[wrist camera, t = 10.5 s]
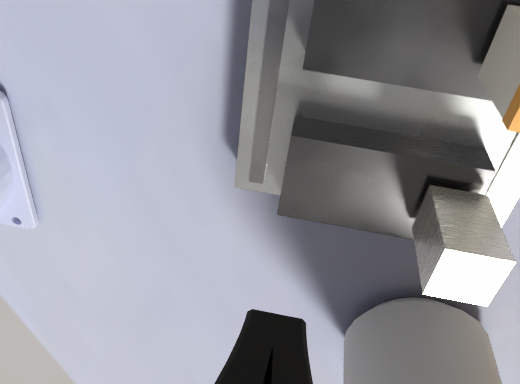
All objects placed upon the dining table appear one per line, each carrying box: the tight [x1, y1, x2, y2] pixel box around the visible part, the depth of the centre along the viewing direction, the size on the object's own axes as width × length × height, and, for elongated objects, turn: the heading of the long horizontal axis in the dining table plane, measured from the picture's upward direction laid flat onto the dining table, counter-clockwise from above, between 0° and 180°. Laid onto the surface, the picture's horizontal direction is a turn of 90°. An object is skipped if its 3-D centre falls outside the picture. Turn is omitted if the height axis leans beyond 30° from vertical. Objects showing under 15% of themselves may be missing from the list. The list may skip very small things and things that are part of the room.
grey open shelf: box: [234, 0, 520, 306], centre depth 13 cm, size 11×16×6 cm
